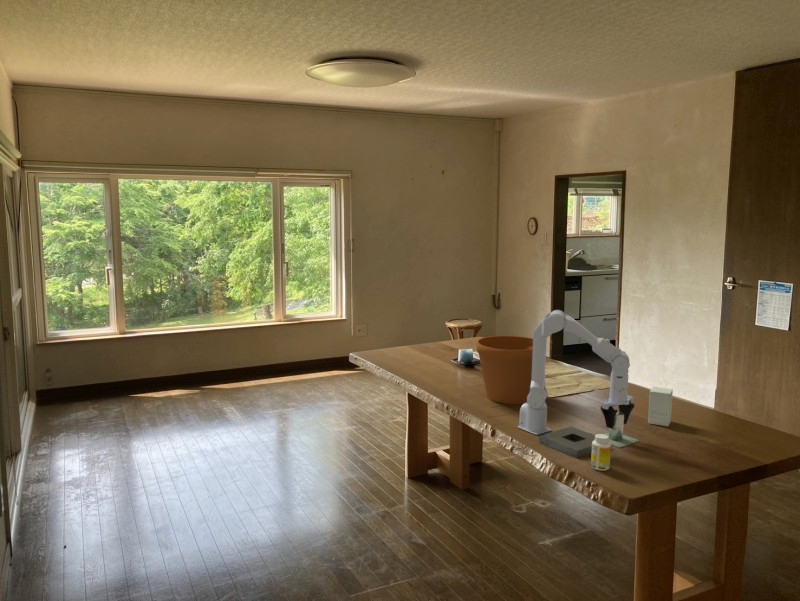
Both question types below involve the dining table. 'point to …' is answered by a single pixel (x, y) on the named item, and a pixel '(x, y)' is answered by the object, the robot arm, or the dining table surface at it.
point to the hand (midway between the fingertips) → (616, 425)
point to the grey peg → (617, 428)
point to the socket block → (569, 441)
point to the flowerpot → (506, 367)
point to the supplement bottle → (601, 453)
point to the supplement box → (660, 406)
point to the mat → (622, 443)
